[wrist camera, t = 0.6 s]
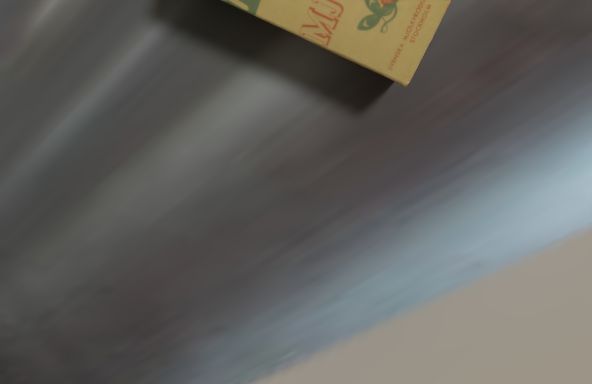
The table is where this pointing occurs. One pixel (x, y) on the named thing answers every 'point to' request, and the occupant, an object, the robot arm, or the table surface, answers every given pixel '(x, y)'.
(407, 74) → the carton
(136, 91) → the table surface
